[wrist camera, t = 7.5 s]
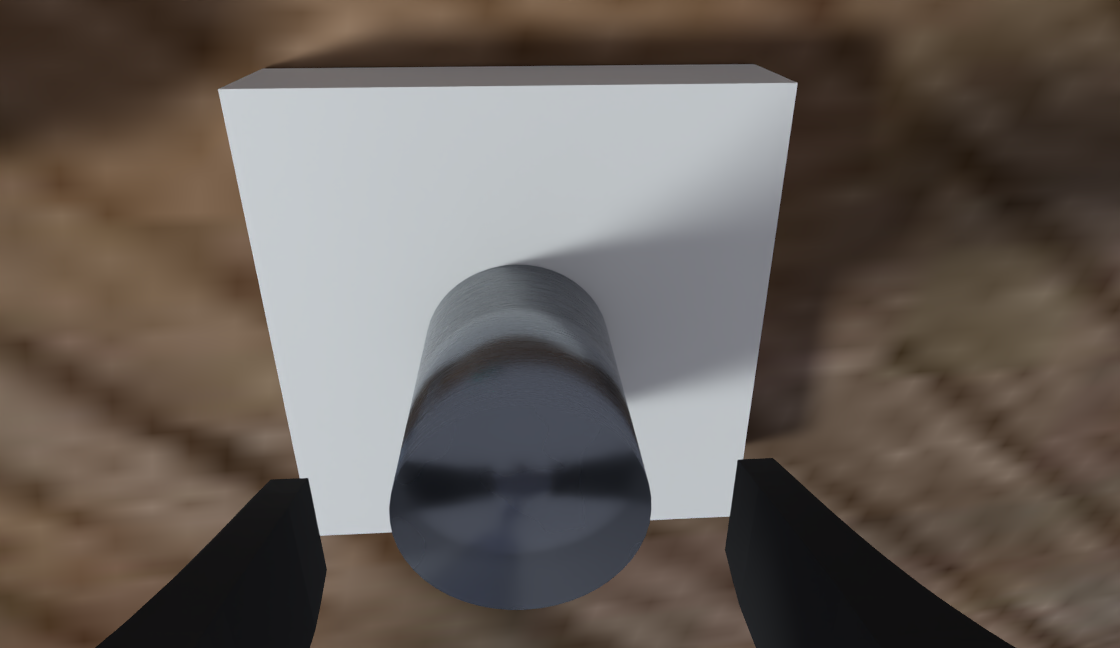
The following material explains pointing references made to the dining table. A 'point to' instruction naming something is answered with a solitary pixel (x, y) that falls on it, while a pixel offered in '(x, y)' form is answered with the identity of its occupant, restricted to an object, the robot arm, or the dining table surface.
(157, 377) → the dining table surface
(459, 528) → the grey cylinder
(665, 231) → the base block
